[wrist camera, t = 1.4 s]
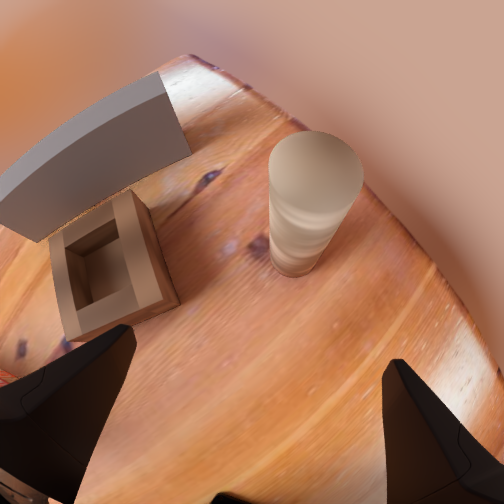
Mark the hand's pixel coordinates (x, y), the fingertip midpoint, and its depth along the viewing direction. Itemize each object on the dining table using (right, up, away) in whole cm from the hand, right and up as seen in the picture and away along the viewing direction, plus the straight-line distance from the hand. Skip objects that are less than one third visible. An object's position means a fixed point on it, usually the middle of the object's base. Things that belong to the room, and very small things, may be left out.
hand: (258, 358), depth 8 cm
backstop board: (-17, +11, +18) cm, 27 cm away
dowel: (+3, +3, +15) cm, 15 cm away
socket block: (-13, +1, +15) cm, 20 cm away
